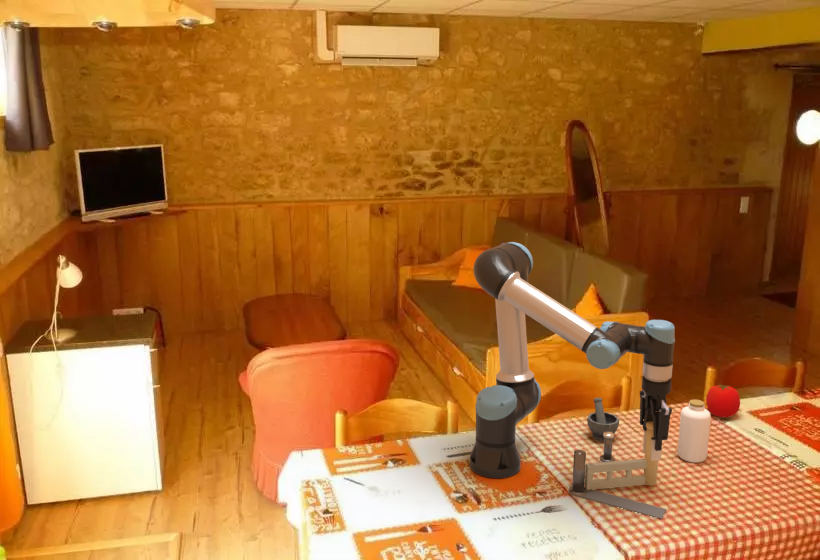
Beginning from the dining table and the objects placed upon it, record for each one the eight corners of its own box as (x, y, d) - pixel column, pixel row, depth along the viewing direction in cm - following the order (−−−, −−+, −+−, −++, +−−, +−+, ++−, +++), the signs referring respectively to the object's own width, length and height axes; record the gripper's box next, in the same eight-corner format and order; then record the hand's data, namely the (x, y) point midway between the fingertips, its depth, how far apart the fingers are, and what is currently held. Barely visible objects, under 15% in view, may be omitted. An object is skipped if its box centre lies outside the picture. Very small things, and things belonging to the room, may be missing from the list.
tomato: (744, 422, 239) (747, 392, 236) (712, 422, 239) (715, 392, 237) (730, 408, 249) (733, 380, 247) (700, 409, 249) (702, 380, 247)
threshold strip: (571, 495, 196) (571, 493, 196) (577, 486, 201) (577, 485, 200) (661, 519, 184) (661, 518, 184) (666, 510, 189) (666, 509, 188)
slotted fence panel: (588, 492, 196) (591, 433, 192) (582, 484, 200) (585, 426, 196) (660, 485, 199) (665, 427, 195) (653, 478, 203) (657, 420, 199)
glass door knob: (597, 461, 214) (599, 435, 212) (602, 455, 218) (603, 429, 216) (612, 464, 212) (614, 438, 210) (616, 458, 216) (618, 432, 214)
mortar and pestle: (622, 443, 225) (624, 408, 222) (594, 446, 224) (596, 410, 221) (608, 428, 236) (610, 394, 233) (580, 430, 235) (582, 396, 232)
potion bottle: (676, 461, 214) (681, 405, 209) (677, 448, 221) (682, 395, 217) (706, 466, 211) (712, 409, 206) (706, 453, 218) (711, 398, 214)
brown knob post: (565, 493, 197) (567, 454, 194) (571, 485, 201) (573, 446, 198) (584, 498, 194) (586, 458, 192) (590, 490, 199) (592, 450, 196)
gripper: (686, 387, 186) (679, 469, 191) (654, 365, 202) (649, 441, 207) (659, 390, 184) (653, 472, 190) (629, 367, 200) (625, 443, 206)
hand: (651, 455), depth 199 cm, fingers closed on slotted fence panel, 4 cm apart
